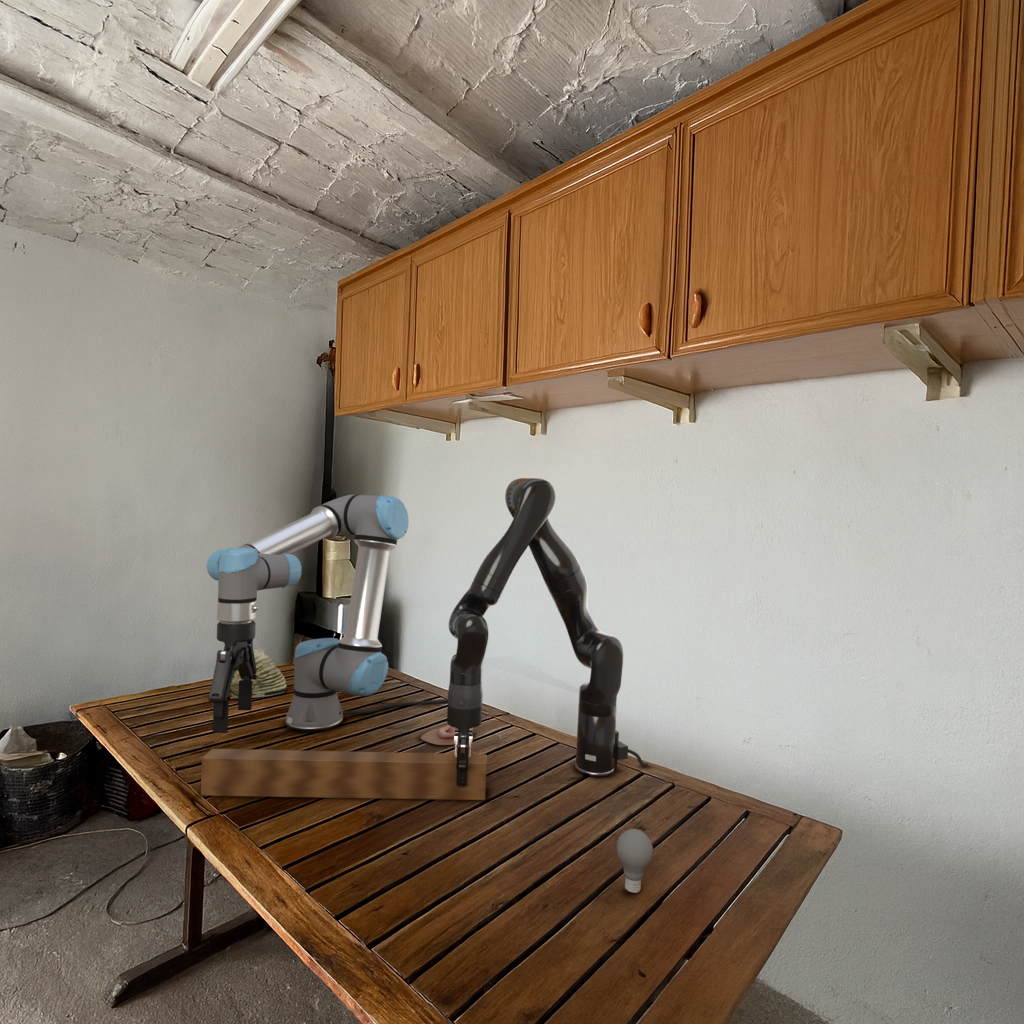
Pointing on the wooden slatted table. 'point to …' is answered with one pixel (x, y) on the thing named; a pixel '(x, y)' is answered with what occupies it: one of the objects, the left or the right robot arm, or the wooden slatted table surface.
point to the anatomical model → (441, 735)
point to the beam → (340, 774)
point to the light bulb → (634, 857)
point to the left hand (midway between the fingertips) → (233, 720)
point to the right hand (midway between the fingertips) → (461, 779)
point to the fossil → (262, 678)
